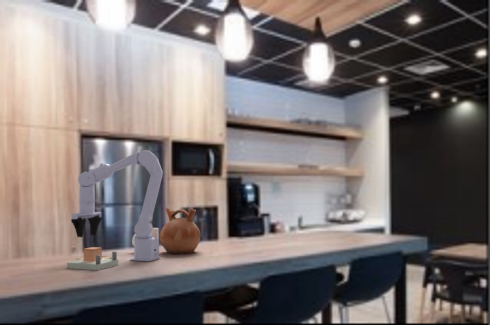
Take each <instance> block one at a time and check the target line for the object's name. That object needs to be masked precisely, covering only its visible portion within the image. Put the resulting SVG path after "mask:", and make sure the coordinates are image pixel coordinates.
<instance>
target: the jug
mask: <svg viewBox="0 0 490 325" xmlns="http://www.w3.org/2000/svg"><path fill="white" fill-rule="evenodd" d="M165 211H166V214H167V217H168V222H166V224H165V225H164V226H163V227H162V228H161V231H160V233H159V241H160V242H159V243H160V244H161V246H162V248H163V249H164V251H166V252H167V254H171V255H187V254H189V255H190V254H192V253H194V252H195V250H196V249H197V248H198V246H199V244H200V240H201V231H200V229H199V227H198V226H197V224H195V222H194V219H195V218H194V217H195V216H196V215H195V214H196V212H197V210H196V209H194V207H192V208H190V209H189V212H188V211H186V210H184V209H183V208H181V209H176V210H171V209H170V208H169V207H165ZM181 213H183V214H184V215H185V216H186V217H176V215H179V214H181Z"/></svg>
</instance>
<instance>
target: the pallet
mask: <svg viewBox="0 0 490 325" xmlns="http://www.w3.org/2000/svg"><path fill="white" fill-rule="evenodd" d="M81 259H84V257H80V258H76V259H75V261H77V260H81ZM102 259H112V256H103V255H102Z"/></svg>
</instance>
